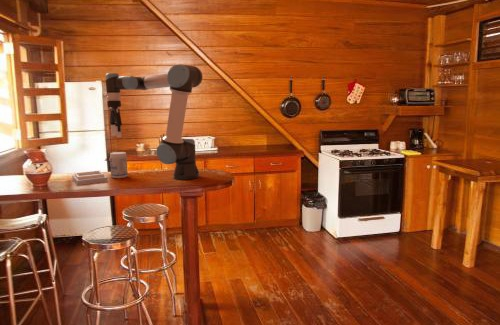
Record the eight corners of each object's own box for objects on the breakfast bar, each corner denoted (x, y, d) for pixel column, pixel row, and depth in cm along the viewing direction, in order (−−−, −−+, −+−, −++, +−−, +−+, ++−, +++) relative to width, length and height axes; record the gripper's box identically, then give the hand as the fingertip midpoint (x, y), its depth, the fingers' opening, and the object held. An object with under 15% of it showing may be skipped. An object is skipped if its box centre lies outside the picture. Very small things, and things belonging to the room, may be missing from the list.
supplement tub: (107, 178, 233) (105, 153, 231) (118, 175, 242) (116, 151, 240) (120, 179, 230) (119, 154, 227) (131, 175, 238) (129, 152, 236)
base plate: (107, 181, 223) (107, 174, 222) (77, 185, 215) (76, 178, 214) (100, 176, 240) (100, 169, 239) (72, 179, 232) (72, 172, 231)
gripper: (103, 100, 237) (105, 135, 240) (111, 100, 216) (114, 138, 219) (115, 100, 241) (118, 134, 244) (125, 100, 220) (128, 137, 223)
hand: (116, 136), depth 232 cm, fingers open, 13 cm apart
